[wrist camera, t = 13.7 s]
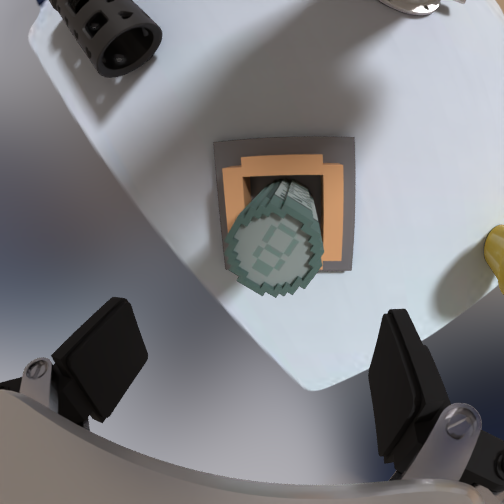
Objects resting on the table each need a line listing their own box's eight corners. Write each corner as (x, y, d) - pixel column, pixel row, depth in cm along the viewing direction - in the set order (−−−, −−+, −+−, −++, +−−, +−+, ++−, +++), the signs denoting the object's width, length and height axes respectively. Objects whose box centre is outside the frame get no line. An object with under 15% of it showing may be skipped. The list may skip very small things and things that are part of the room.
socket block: (352, 137, 28) (361, 135, 23) (350, 266, 33) (356, 285, 28) (216, 142, 31) (201, 141, 26) (227, 265, 36) (216, 283, 32)
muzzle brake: (129, 85, 29) (79, 74, 20) (72, 8, 24) (35, -4, 14) (179, 38, 26) (138, 10, 16) (107, -28, 20) (74, -46, 11)
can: (250, 213, 32) (210, 265, 18) (277, 168, 29) (254, 186, 16) (295, 240, 32) (287, 310, 18) (323, 197, 30) (340, 240, 16)
